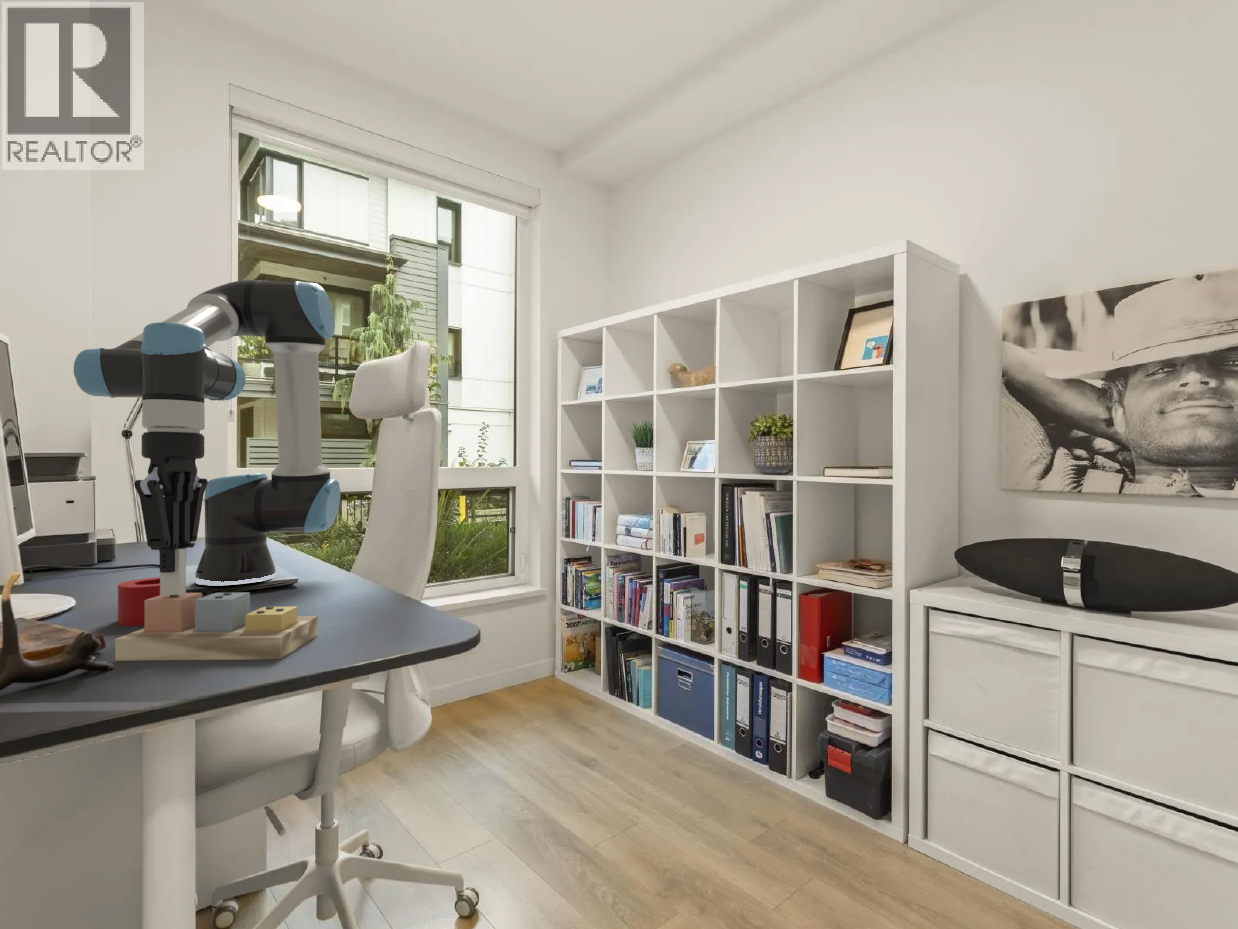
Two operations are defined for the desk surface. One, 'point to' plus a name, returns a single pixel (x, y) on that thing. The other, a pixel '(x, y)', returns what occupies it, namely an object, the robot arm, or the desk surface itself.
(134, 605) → the red oval ring
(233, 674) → the desk surface
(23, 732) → the desk surface
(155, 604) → the tile one
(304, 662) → the desk surface
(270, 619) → the tile three
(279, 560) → the desk surface
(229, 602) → the tile two
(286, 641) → the button board
